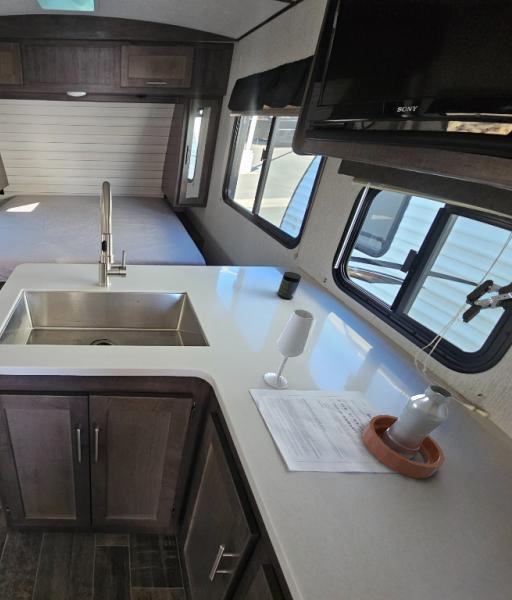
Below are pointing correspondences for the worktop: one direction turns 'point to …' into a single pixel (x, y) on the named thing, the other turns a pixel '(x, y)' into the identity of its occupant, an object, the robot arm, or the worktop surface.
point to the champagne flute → (291, 344)
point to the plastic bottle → (417, 421)
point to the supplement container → (288, 285)
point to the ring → (395, 461)
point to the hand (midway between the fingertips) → (490, 331)
